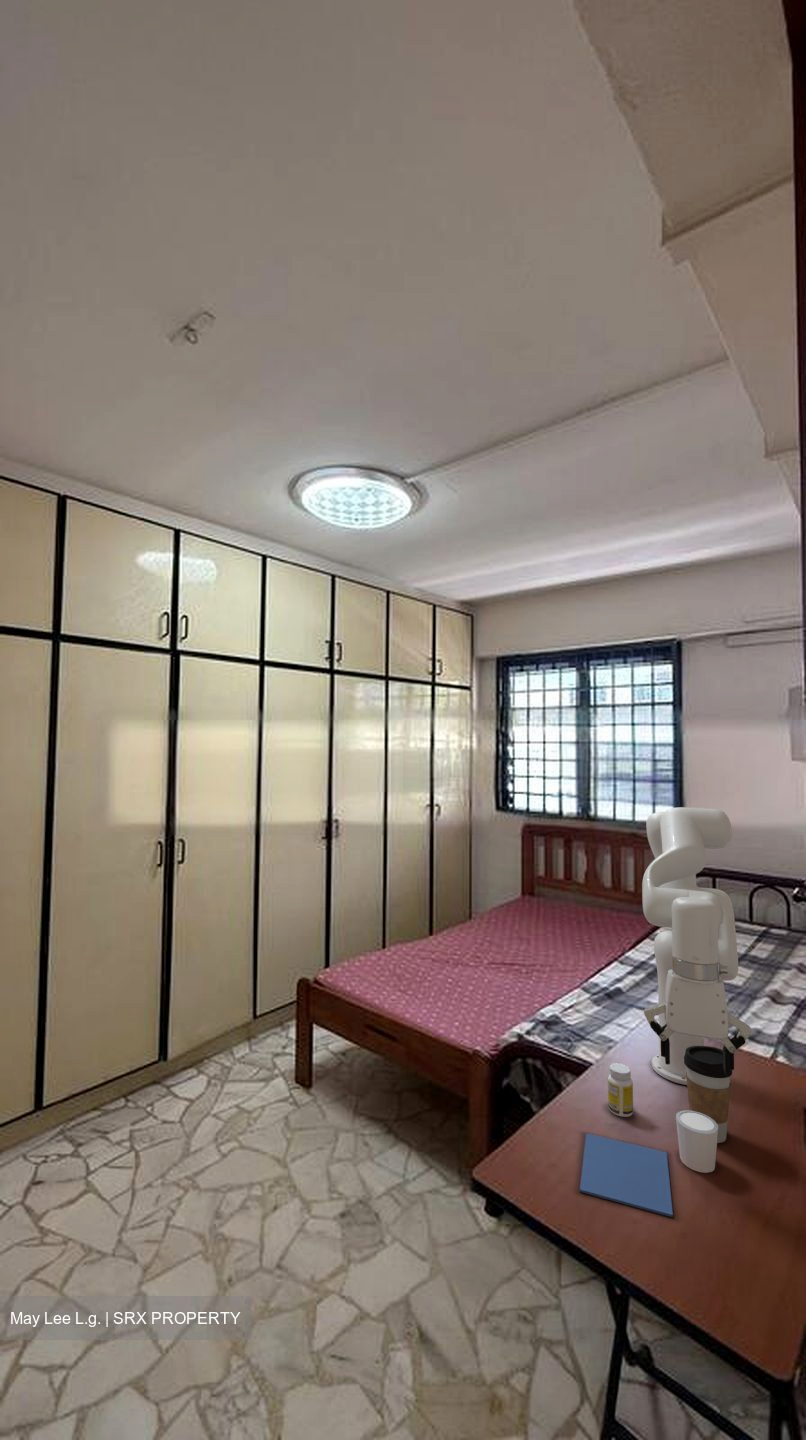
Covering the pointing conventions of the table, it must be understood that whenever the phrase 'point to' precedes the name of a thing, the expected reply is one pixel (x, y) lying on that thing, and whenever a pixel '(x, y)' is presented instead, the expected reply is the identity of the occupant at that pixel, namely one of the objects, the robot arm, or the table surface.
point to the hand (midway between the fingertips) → (696, 1066)
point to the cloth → (626, 1174)
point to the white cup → (697, 1140)
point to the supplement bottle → (620, 1090)
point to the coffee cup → (708, 1085)
